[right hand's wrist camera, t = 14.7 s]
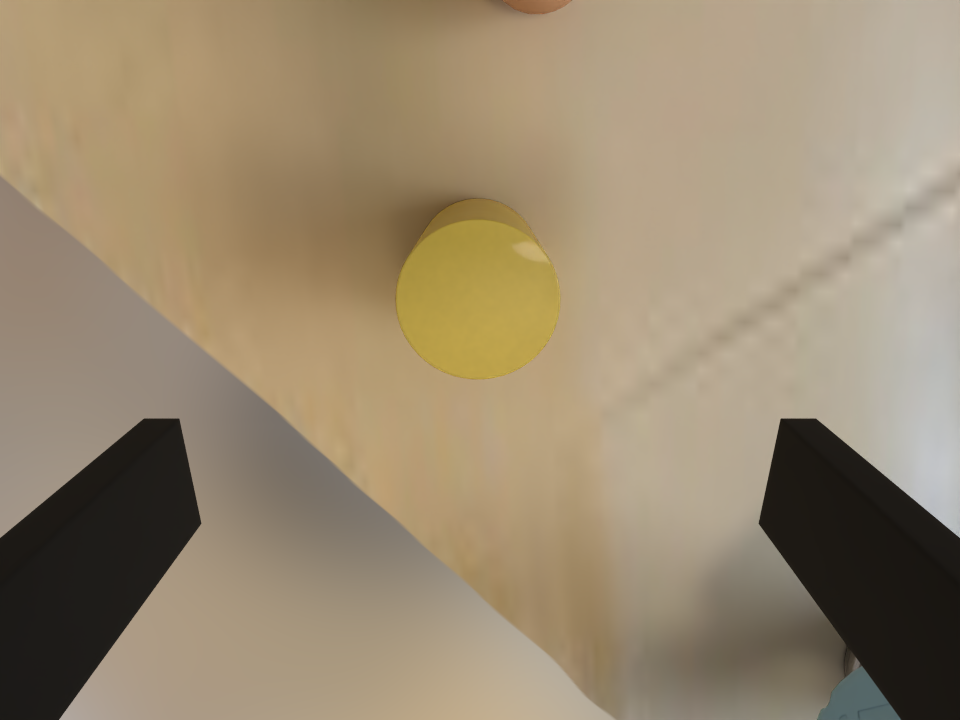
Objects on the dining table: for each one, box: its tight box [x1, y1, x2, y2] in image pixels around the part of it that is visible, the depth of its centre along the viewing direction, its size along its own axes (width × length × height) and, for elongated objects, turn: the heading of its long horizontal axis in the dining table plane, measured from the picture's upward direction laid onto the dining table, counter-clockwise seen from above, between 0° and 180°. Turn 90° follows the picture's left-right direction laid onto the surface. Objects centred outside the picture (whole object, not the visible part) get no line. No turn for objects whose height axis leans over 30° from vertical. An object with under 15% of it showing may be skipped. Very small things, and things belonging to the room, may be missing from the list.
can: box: [395, 199, 560, 379], centre depth 33 cm, size 8×8×11 cm
